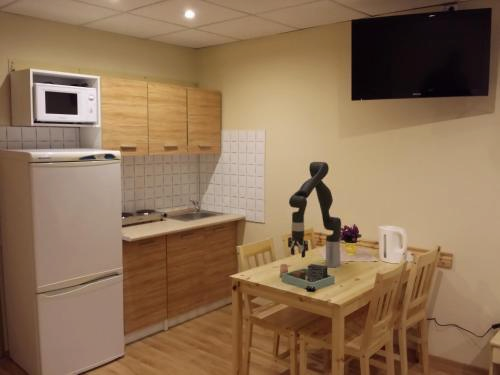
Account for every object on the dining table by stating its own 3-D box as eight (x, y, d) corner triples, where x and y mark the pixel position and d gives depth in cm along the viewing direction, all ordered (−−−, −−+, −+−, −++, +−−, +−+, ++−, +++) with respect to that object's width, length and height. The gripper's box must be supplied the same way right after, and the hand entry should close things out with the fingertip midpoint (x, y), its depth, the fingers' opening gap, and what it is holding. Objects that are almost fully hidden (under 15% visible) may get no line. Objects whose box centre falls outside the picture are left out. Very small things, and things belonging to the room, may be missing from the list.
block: (298, 279, 283) (298, 269, 283) (305, 281, 279) (305, 272, 278) (291, 281, 279) (291, 271, 279) (298, 283, 275) (299, 273, 274)
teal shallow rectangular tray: (304, 274, 292) (304, 267, 292) (334, 283, 275) (334, 276, 274) (281, 281, 279) (281, 274, 279) (312, 290, 261) (312, 283, 261)
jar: (283, 275, 292) (283, 263, 292) (289, 276, 289) (289, 264, 288) (278, 276, 289) (278, 264, 288) (284, 278, 286) (284, 266, 285)
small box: (327, 282, 276) (328, 265, 275) (323, 285, 270) (324, 268, 269) (311, 280, 281) (311, 263, 280) (307, 283, 276) (307, 265, 275)
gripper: (311, 230, 272) (311, 257, 274) (293, 226, 283) (293, 252, 285) (302, 232, 267) (302, 259, 269) (285, 228, 278) (285, 254, 280)
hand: (297, 256), depth 277 cm, fingers open, 8 cm apart
